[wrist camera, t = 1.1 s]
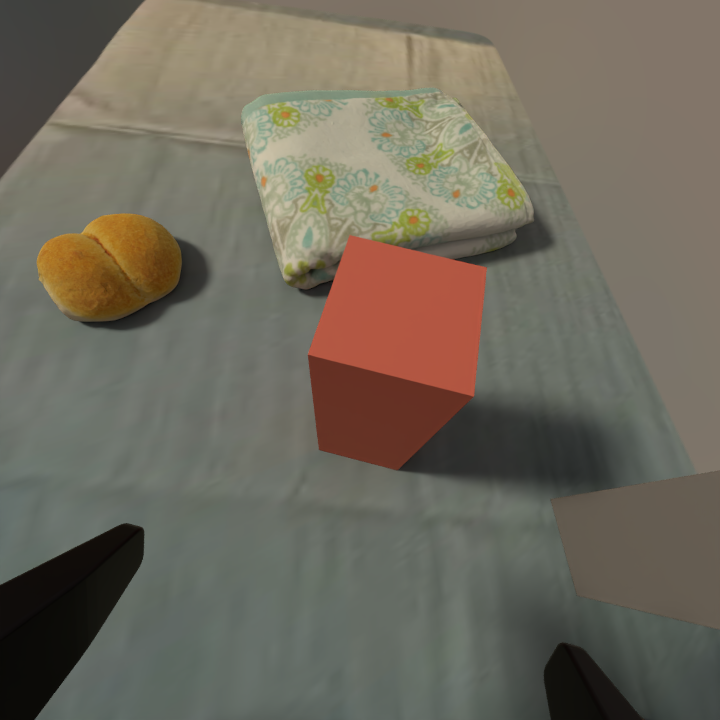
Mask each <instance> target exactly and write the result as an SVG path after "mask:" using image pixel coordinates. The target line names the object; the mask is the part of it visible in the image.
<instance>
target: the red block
mask: <svg viewBox="0 0 720 720" xmlns="http://www.w3.org/2000/svg"><path fill="white" fill-rule="evenodd" d="M486 270H487V268H486V267H482V266H478V265H474V264H469V263H465V262H461V261H457V260H453V259H448V258H444V257H440V256H436V255H432V254H427V253H423V252H419V251H415V250H411V249H406V248H402V247H398V246H394V245H390V244H385V243H381V242H377V241H373V240H369V239H364V238H360V237H356V236H352V235H349V238H348V241H347V244H346V247H345V250H344V252H343V255H342V258H341V261H340V264H339V267H338V270H337V273H336V275H335V278H334V281H333V284H332V287H331V290H330V293H329V296H328V298H327V301H326V304H325V307H324V310H323V313H322V316H321V318H320V321H319V324H318V327H317V330H316V333H315V336H314V339H313V341H312V344H311V347H310V350H309V353H308V360H309V368H310V377H311V386H312V394H313V403H314V411H315V420H316V428H317V437H318V445H319V450H322V451H325V452H329V453H333V454H337V455H341V456H344V457H348V458H352V459H356V460H360V461H364V462H367V463H371V464H375V465H379V466H383V467H386V468H390V469H394V470H398V469H399V468H400V467H401V466H402V465H403V464H404V463H406V462H407V461H408V460H409V459H410V458H411V457H412V456H413V455H414V454H415V453H416V452H417V451H418V450H419V449H420V448H421V447H422V446H423V445H424V444H425V443H426V442H427V441H428V440H429V439H430V438H431V437H432V436H433V435H434V434H436V433H437V432H438V431H439V430H440V429H441V428H442V427H443V426H444V425H445V424H446V423H447V422H448V421H449V420H450V419H451V418H452V417H453V416H454V415H455V414H456V413H457V412H458V411H459V410H460V409H461V408H462V407H463V406H464V405H465V404H467V403H468V402H469V401H470V400H471V399H472V398H473V397H474V390H475V380H476V370H477V360H478V350H479V340H480V330H481V320H482V310H483V300H484V290H485V280H486Z"/></svg>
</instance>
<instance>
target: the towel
mask: <svg viewBox="0 0 720 720" xmlns="http://www.w3.org/2000/svg"><path fill="white" fill-rule="evenodd" d="M241 124H242V126H243V132H244V137H245V142H246V147H247V150H248V155H249V158H250V162H251V166H252V170H253V173H254V177H255V181H256V185H257V188H258V191H259V195H260V198H261V202H262V206H263V209H264V213H265V216H266V220H267V224H268V227H269V231H270V235H271V238H272V242H273V247H274V251H275V254H276V257H277V260H278V264H279V267H280V270H281V273H282V276H283V279H284V280H285V282H286V283H287V284H288V285H289V286H292V287H295V288H301V289H310V288H313V287H315V286H317V285H318V284H321V283H324V282H328V281H332V280H334V278H335V275H336V273H337V270H338V267H339V264H340V261H341V258H342V255H343V252H344V250H345V247H346V244H347V241H348V238H349V235H352V236H356V237H360V238H364V239H369V240H373V241H377V242H381V243H385V244H390V245H394V246H398V247H402V248H406V249H411V250H415V251H419V252H423V253H427V254H432V255H436V256H440V257H444V258H448V259H457V258H462V257H468V256H473V255H478V254H482V253H486V252H490V251H494V250H497V249H500V248H503V247H504V246H506V245H509V244H511V243H512V242H513V241H514V240H515V239H516V237H517V235H516V232H515V231H516V228H520V227H522V226H524V225H525V224H529V223H532V222H533V221H534V218H533V214H534V209H533V206H532V203H531V200H530V198H529V196H528V194H527V192H526V190H525V188H524V187H523V185H522V184H521V182H520V181H519V179H518V178H517V176H516V175H515V174H514V172H513V171H512V169H511V168H510V166H509V165H508V164H507V162H506V161H505V160H504V159H503V157H502V156H501V155H500V154H499V152H498V151H497V150H496V148H495V147H494V146H493V144H492V143H491V141H490V140H489V138H488V137H487V136H486V134H485V133H484V132H483V131H482V129H481V128H480V127H479V126H478V124H477V123H476V122H475V121H474V120H473V119H472V118H471V116H470V115H469V114H468V112H467V111H466V110H465V108H464V107H463V106H462V105H461V103H460V102H459V101H458V99H457V98H451V97H450V96H448V95H447V94H445V93H443V92H442V91H441V90H440V89H437V88H421V89H415V90H405V91H355V90H336V91H317V90H311V91H295V92H283V93H274V94H265V95H262V96H260V97H258V98H257V99H255V100H254V101H253V102H251V103H249V104H247V105H246V106H245V107H244V108H243V111H242V115H241Z"/></svg>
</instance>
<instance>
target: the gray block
mask: <svg viewBox="0 0 720 720" xmlns="http://www.w3.org/2000/svg"><path fill="white" fill-rule="evenodd" d="M551 503H552V506H553V510H554V514H555V517H556V521H557V525H558V528H559V532H560V535H561V539H562V543H563V546H564V550H565V554H566V557H567V561H568V565H569V568H570V572H571V575H572V579H573V583H574V586H575V590H576V594H577V596H581V597H585V598H589V599H593V600H597V601H602V602H606V603H610V604H614V605H618V606H623V607H627V608H631V609H635V610H639V611H644V612H648V613H652V614H656V615H660V616H665V617H669V618H673V619H677V620H681V621H686V622H690V623H694V624H698V625H702V626H707V627H711V628H715V629H719V630H720V471H714V472H708V473H702V474H696V475H690V476H684V477H678V478H672V479H666V480H660V481H655V482H649V483H643V484H637V485H631V486H625V487H619V488H613V489H607V490H601V491H595V492H590V493H584V494H578V495H572V496H566V497H560V498H554V499H551Z"/></svg>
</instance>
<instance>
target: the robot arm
mask: <svg viewBox="0 0 720 720" xmlns="http://www.w3.org/2000/svg"><path fill="white" fill-rule="evenodd" d="M143 555H144V529H143V528H142V527H140V526H136V525H132V524H129V523H124V524H121V525H119V526H117V527H115V528H113V529H111V530H109V531H107V532H105V533H103V534H101V535H99V536H97V537H95V538H93V539H91V540H89V541H87V542H85V543H83V544H81V545H79V546H77V547H75V548H73V549H71V550H69V551H67V552H65V553H63V554H61V555H59V556H57V557H55V558H53V559H51V560H49V561H47V562H45V563H43V564H41V565H39V566H37V567H35V568H33V569H31V570H29V571H27V572H25V573H23V574H21V575H19V576H17V577H15V578H13V579H11V580H9V581H7V582H5V583H3V584H1V585H0V720H35V718H36V717H37V716H38V714H39V713H40V712H41V710H42V709H43V708H44V706H45V705H46V704H47V702H48V701H49V700H50V698H51V697H52V696H53V694H54V693H55V692H56V690H57V689H58V688H59V686H60V685H61V684H62V682H63V681H64V680H65V678H66V677H67V676H68V674H69V673H70V672H71V670H72V669H73V668H74V666H75V665H76V664H77V662H78V661H79V660H80V658H81V657H82V655H83V654H84V653H85V651H86V650H87V649H88V647H89V646H90V644H91V643H92V641H93V640H94V638H95V637H96V635H97V634H98V632H99V630H100V629H101V627H102V626H103V624H104V622H105V621H106V619H107V618H108V616H109V615H110V613H111V611H112V610H113V608H114V607H115V605H116V603H117V602H118V600H119V599H120V597H121V595H122V594H123V592H124V591H125V589H126V588H127V586H128V584H129V583H130V581H131V580H132V578H133V576H134V575H135V573H136V572H137V570H138V568H139V567H140V565H141V562H142V560H143ZM544 683H545V689H546V694H547V700H548V706H549V712H550V717H551V720H643V719H642V718H641V717H640V716H639V714H638V713H637V712H636V711H635V710H634V708H633V707H632V706H631V705H630V704H629V702H628V701H627V700H626V699H625V698H624V696H623V695H622V694H621V693H620V692H619V690H618V689H617V688H616V687H615V686H614V684H613V683H612V682H611V681H610V680H609V678H608V677H607V676H606V675H605V674H604V672H603V671H602V670H601V669H600V668H599V667H598V665H597V664H596V663H595V662H594V661H593V659H592V658H591V657H590V656H589V655H588V653H587V652H586V651H585V650H584V649H582V648H581V647H578V646H575V645H572V644H568V643H564V642H562V643H560V644H558V645H557V647H556V649H555V650H554V652H553V654H552V656H551V657H550V659H549V661H548V662H547V664H546V666H545V670H544Z"/></svg>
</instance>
